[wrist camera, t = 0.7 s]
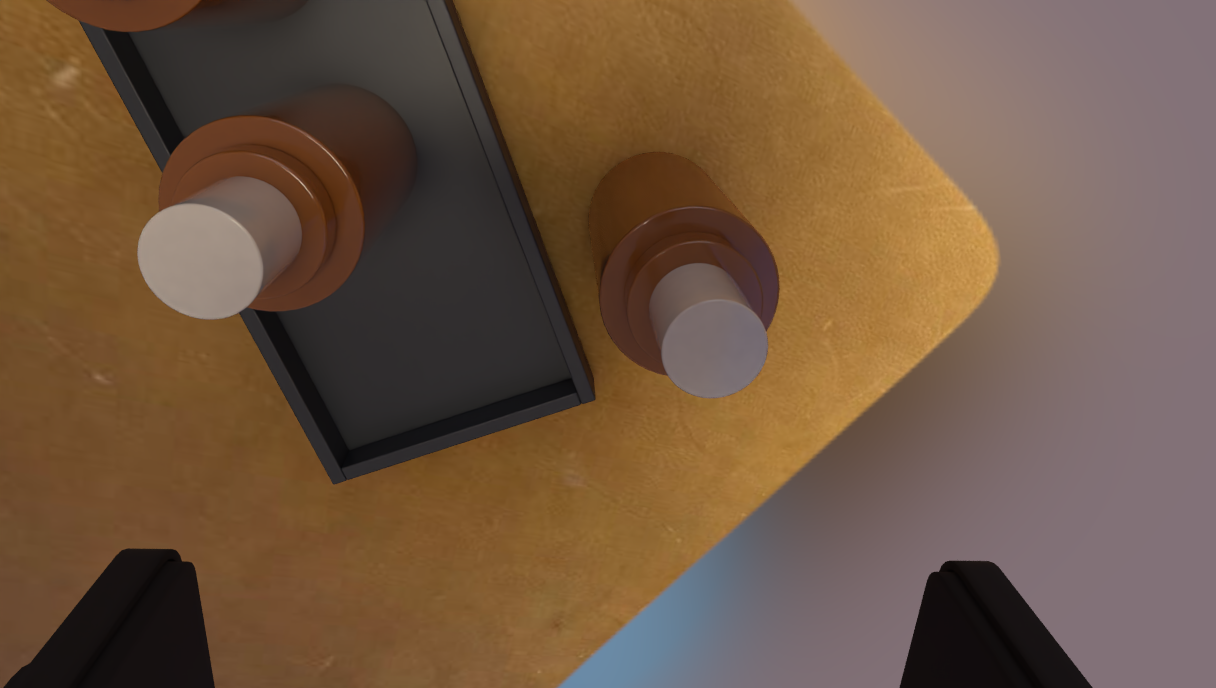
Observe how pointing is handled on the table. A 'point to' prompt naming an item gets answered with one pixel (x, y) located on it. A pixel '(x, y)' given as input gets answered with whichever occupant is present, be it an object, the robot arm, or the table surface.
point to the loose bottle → (681, 275)
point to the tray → (385, 232)
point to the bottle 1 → (176, 13)
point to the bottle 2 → (277, 202)
